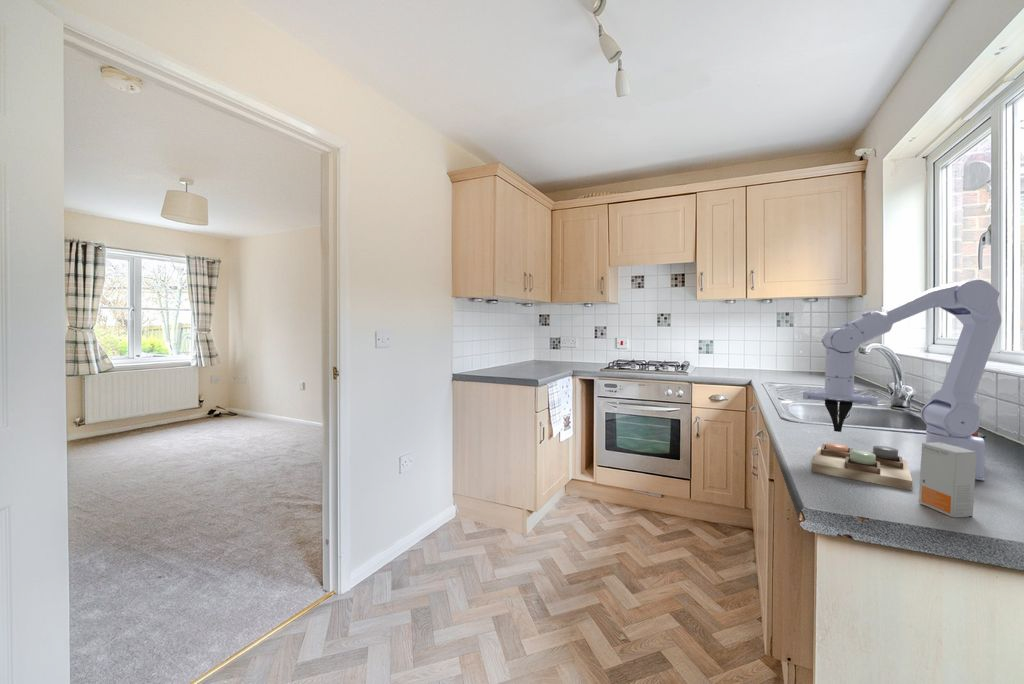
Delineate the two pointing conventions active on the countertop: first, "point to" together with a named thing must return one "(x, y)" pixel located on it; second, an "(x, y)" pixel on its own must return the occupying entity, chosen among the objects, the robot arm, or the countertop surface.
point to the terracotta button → (837, 447)
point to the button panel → (863, 468)
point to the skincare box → (947, 479)
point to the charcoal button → (885, 452)
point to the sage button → (862, 457)
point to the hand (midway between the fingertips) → (837, 430)
